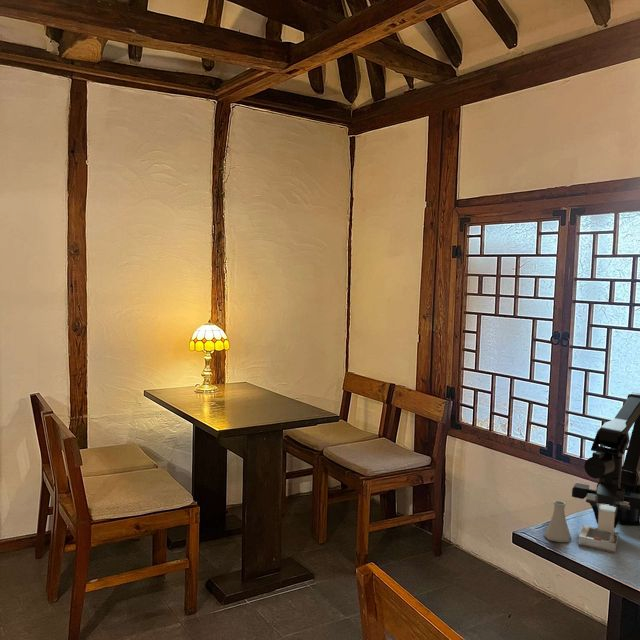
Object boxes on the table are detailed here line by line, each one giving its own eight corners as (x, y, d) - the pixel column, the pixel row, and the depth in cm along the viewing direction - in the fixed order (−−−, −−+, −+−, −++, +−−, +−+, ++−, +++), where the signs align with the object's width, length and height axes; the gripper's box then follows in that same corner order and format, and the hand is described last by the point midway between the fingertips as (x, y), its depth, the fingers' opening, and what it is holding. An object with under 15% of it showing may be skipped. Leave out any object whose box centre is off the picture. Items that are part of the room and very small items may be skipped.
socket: (582, 534, 180) (583, 523, 180) (618, 541, 176) (618, 530, 176) (578, 545, 173) (578, 534, 172) (614, 553, 168) (615, 542, 168)
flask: (573, 544, 173) (576, 508, 172) (545, 541, 174) (547, 505, 174) (568, 534, 180) (571, 499, 179) (541, 531, 181) (544, 496, 181)
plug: (599, 528, 185) (601, 504, 185) (614, 531, 183) (616, 507, 183) (597, 534, 180) (598, 510, 180) (612, 537, 178) (614, 513, 178)
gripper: (570, 472, 178) (566, 527, 179) (645, 485, 169) (641, 543, 170) (576, 463, 188) (573, 515, 189) (647, 475, 179) (643, 529, 180)
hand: (606, 525), depth 182 cm, fingers closed on plug, 4 cm apart
